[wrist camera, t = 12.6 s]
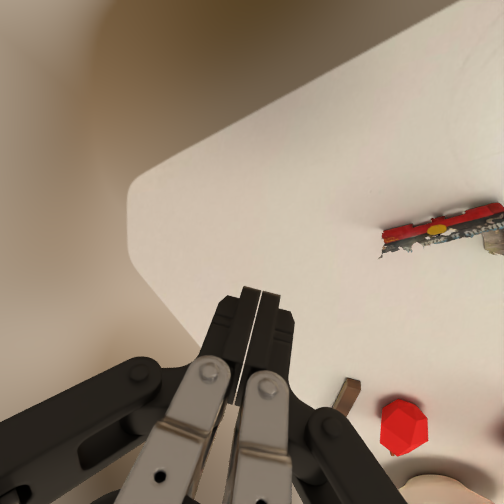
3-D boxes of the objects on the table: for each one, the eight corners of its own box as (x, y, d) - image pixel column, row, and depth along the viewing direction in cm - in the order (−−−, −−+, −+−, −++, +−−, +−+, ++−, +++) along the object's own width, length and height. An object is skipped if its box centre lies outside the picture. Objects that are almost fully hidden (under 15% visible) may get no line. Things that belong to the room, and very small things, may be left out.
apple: (403, 419, 46) (378, 467, 48) (448, 429, 48) (421, 475, 50) (380, 384, 53) (358, 427, 55) (419, 394, 54) (397, 435, 56)
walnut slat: (340, 418, 58) (340, 427, 56) (328, 415, 58) (328, 424, 57) (360, 381, 52) (361, 390, 51) (346, 377, 52) (347, 386, 51)
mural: (388, 280, 42) (394, 315, 37) (372, 228, 38) (376, 259, 34) (509, 255, 37) (534, 291, 32) (502, 194, 34) (528, 224, 29)
